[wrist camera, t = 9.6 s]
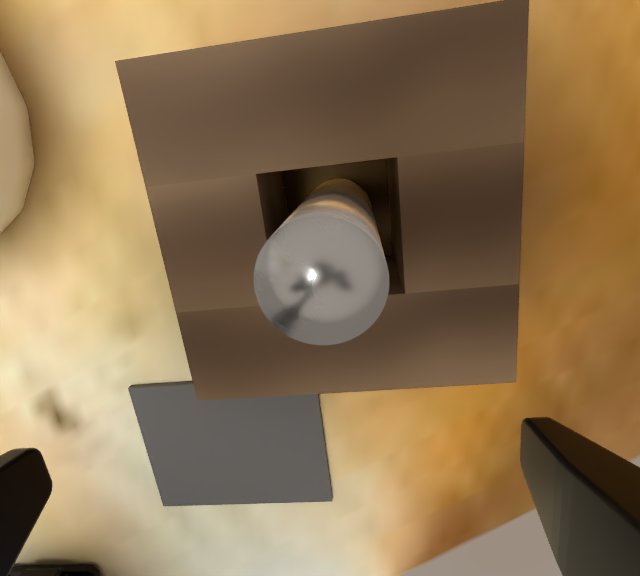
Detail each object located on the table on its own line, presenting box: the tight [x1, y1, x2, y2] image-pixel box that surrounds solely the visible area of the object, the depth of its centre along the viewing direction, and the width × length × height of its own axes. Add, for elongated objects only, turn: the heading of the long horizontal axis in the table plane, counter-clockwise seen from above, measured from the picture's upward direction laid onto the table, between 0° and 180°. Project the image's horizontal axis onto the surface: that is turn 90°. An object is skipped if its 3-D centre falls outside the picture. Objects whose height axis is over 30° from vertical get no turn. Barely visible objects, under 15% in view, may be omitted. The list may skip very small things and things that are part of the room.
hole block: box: [115, 0, 529, 401], centre depth 16 cm, size 12×12×5 cm
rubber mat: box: [128, 381, 332, 506], centre depth 23 cm, size 8×10×1 cm
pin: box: [254, 179, 389, 345], centre depth 14 cm, size 3×3×10 cm
